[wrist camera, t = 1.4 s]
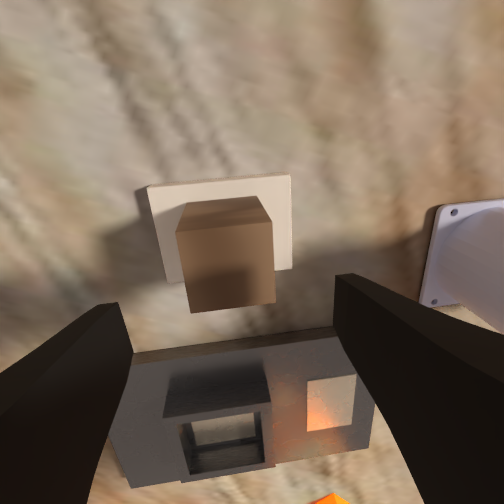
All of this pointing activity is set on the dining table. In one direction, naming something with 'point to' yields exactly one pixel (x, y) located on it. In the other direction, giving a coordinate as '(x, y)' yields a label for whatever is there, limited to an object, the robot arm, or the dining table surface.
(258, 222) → the walnut block
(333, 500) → the orange juice
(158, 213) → the beige rectangular block
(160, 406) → the gray socket plate
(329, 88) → the dining table surface
